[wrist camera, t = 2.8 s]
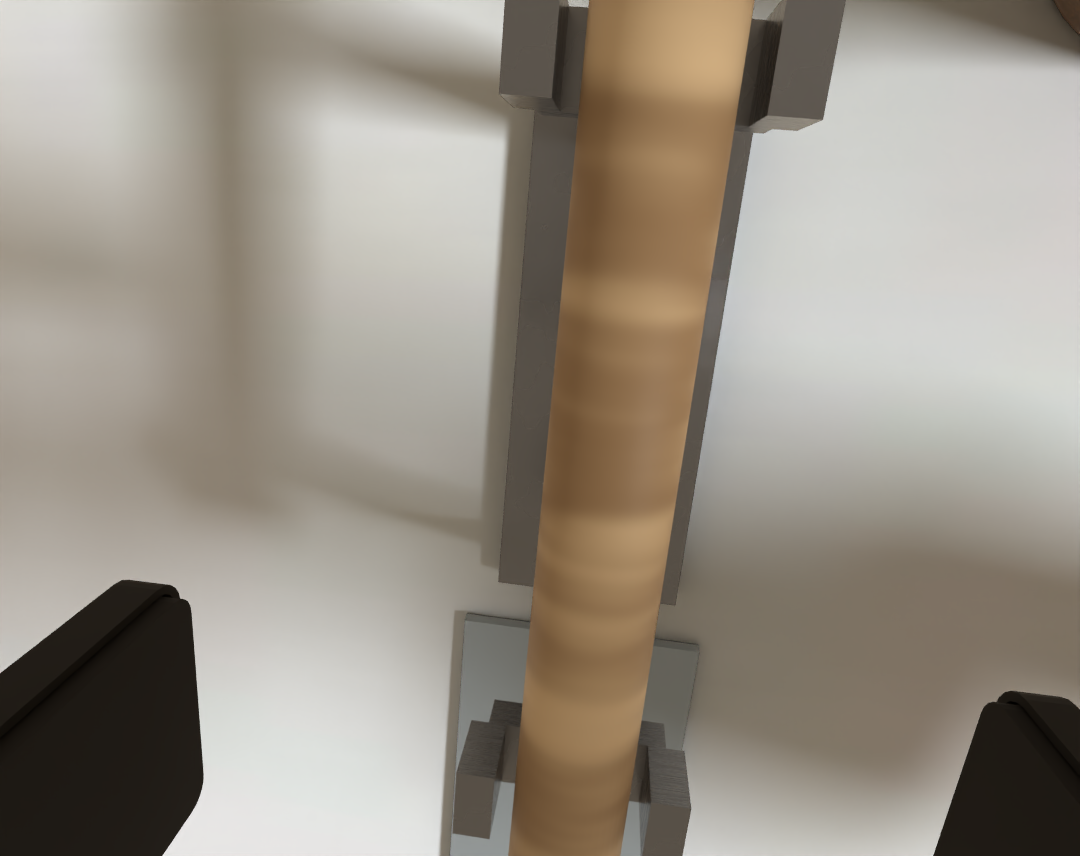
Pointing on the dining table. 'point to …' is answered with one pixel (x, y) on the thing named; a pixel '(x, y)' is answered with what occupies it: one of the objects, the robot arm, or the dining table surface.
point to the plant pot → (1070, 12)
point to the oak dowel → (621, 400)
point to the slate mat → (500, 675)
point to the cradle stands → (554, 92)
